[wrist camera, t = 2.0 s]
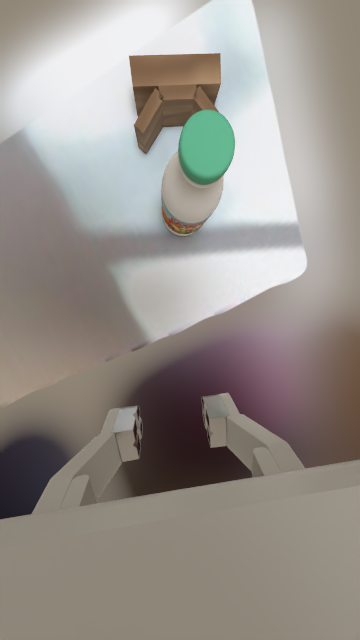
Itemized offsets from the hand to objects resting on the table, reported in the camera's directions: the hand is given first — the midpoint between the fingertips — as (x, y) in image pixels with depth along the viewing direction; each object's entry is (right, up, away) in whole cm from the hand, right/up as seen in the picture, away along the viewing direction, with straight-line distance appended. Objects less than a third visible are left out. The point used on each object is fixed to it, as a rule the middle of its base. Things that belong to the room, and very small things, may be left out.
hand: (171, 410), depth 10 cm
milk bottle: (+1, +25, +24) cm, 34 cm away
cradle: (0, +37, +20) cm, 42 cm away
